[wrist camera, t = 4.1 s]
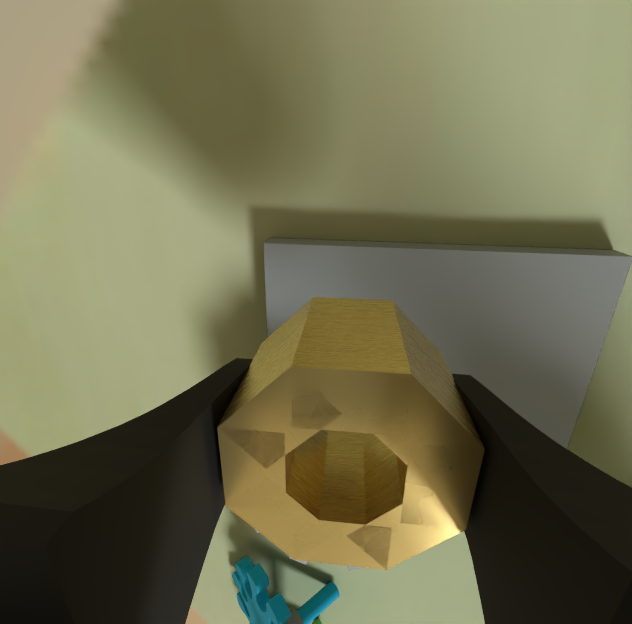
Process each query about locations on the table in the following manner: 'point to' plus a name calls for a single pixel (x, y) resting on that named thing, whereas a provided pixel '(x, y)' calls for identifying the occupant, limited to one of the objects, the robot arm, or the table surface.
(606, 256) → the gear board
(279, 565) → the table surface
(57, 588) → the robot arm
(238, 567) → the gear
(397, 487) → the brass gear
